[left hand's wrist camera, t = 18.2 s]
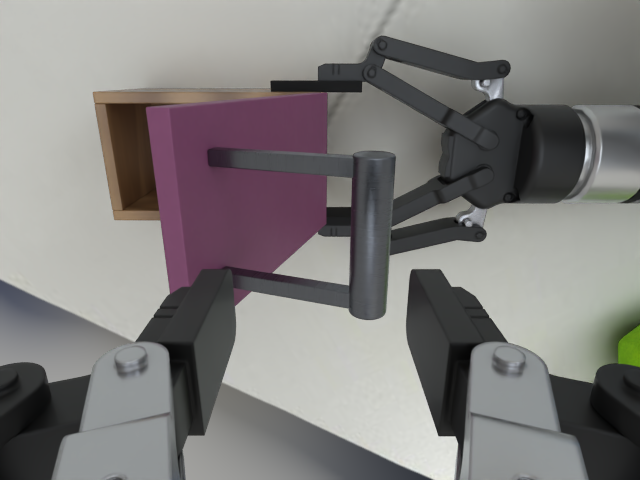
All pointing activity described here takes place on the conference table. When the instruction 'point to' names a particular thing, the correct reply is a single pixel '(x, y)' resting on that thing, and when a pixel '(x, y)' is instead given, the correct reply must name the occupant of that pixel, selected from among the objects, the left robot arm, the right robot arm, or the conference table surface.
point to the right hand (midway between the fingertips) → (275, 154)
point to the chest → (144, 141)
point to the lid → (266, 197)
